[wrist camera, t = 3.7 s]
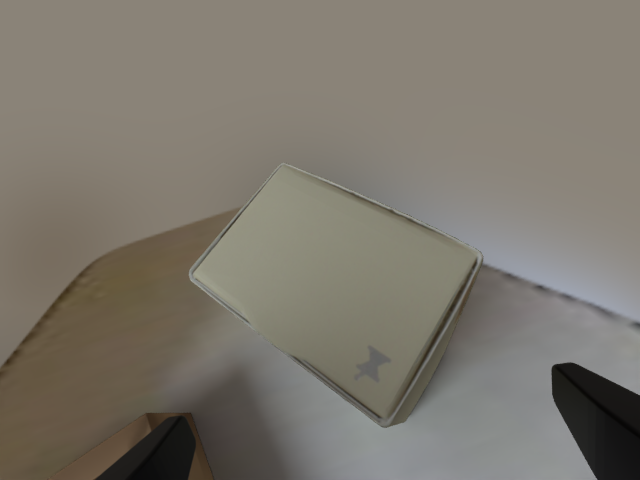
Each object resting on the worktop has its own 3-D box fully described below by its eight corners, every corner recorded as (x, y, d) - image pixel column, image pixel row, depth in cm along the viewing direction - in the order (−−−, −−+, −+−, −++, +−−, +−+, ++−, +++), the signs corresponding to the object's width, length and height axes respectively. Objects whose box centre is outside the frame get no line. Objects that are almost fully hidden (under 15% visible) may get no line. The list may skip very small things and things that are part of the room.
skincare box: (447, 349, 18) (508, 255, 7) (404, 426, 17) (402, 448, 6) (344, 286, 21) (279, 151, 10) (302, 349, 20) (177, 273, 9)
